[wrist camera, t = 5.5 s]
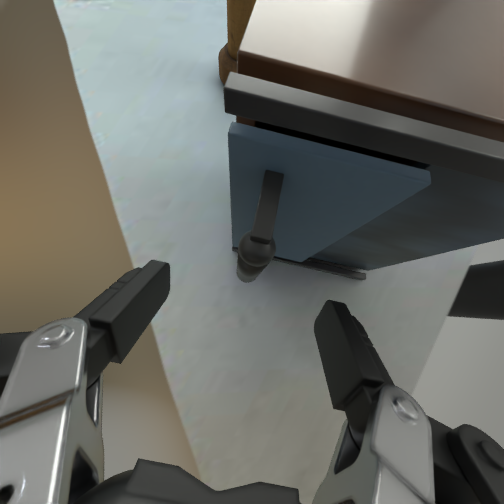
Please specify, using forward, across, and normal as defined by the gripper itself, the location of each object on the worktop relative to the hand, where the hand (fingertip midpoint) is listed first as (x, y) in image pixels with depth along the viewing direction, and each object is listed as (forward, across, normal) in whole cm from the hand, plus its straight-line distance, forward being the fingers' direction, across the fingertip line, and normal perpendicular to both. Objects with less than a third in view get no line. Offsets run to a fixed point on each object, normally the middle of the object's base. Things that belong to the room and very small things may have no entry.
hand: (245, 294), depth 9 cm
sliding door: (+8, -2, +4) cm, 9 cm away
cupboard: (+15, -6, -1) cm, 16 cm away
